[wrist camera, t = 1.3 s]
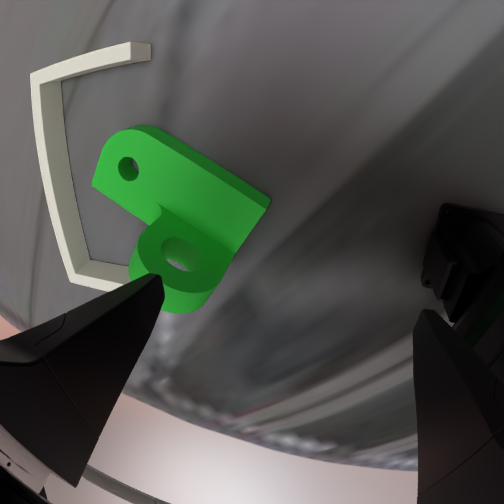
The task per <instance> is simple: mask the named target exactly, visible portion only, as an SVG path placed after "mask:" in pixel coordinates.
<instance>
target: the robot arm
mask: <svg viewBox="0 0 504 504" xmlns="http://www.w3.org/2000/svg"><path fill="white" fill-rule="evenodd" d="M447 209H450V212H449V213H447V214H446V210H447ZM423 266H424V270H423V273H422V276H421V283H422V285H423V286H424V287H426V288H433V291H434V294H435V296H436V298H437V300H440V301H442V302H443V304H444V307H445V310H446V313H447V315H448V318H449V321H450V322H452V323H455V324H454V325H453V326H452V327H451V326H450V325H449V324H448V323H447V322H446V321H445V320H444V319H443V318H442V317H441V316H440V315H439V314H438V313H437V312H436V311H435V310H430V309H423V310H422V311H421V313H420V315H419V317H418V320H417V322H416V325H415V327H414V330H413V377H414V388H415V400H416V414H417V433H418V497H417V504H504V215H502V214H498V213H493V212H489V211H484V210H480V209H475V208H470V207H466V206H461V205H456V204H450V203H446V204H444V205H443V206H442V207H441V210H440V214H439V218H438V222H437V226H436V229H435V231H434V232H433V233H432V234H431V237H430V241H429V245H428V248H427V252H426V255H425V258H424V262H423ZM427 279H429V281H427V282H425V281H426V280H427ZM164 300H165V292H164V286H163V281H162V277H161V275H159V274H154V273H148V274H146V275H144V276H141V277H139V278H137V279H135V280H133V281H131V282H129V283H127V284H124V285H122V286H120V287H118V288H116V289H114V290H112V291H110V292H108V293H105V294H103V295H101V296H99V297H97V298H95V299H93V300H91V301H89V302H87V303H85V304H83V305H81V306H78V307H76V308H74V309H72V310H70V311H68V312H67V313H64V314H62V315H60V316H58V317H56V318H54V319H52V320H49V321H47V322H45V323H43V324H40V325H38V326H36V327H33V328H31V329H29V330H26V331H24V332H21V333H19V334H16V335H14V336H11V337H9V338H7V339H4V340H0V504H52V503H51V502H49V501H48V500H47V496H46V493H45V489H44V484H45V482H46V481H47V479H48V477H49V475H50V474H51V473H52V474H54V475H55V476H57V477H58V478H60V479H61V480H63V481H65V482H66V483H68V484H70V485H71V486H73V487H75V488H76V487H77V485H78V483H79V480H80V478H81V476H82V474H83V472H84V469H85V467H86V465H87V463H88V460H89V458H90V456H91V454H92V452H93V450H94V448H95V445H96V443H97V441H98V439H99V436H100V435H101V432H102V430H103V428H104V426H105V424H106V422H107V420H108V418H109V416H110V414H111V411H112V410H113V407H114V406H115V404H116V402H117V399H118V397H119V396H120V394H121V392H122V390H123V388H124V386H125V384H126V382H127V380H128V378H129V376H130V374H131V372H132V370H133V368H134V366H135V364H136V362H137V360H138V358H139V356H140V354H141V353H142V351H143V349H144V347H145V345H146V343H147V341H148V339H149V337H150V335H151V333H152V330H153V328H154V325H155V323H156V320H157V318H158V315H159V313H160V310H161V308H162V305H163V303H164Z"/></svg>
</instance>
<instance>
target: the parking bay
mask: <svg viewBox="0 0 504 504" xmlns="http://www.w3.org/2000/svg"><path fill="white" fill-rule="evenodd" d="M148 60H151V44H146V43H138V42H127V43H123V44H119V45H115V46H111V47H107V48H104V49H100V50H96V51H93V52H90V53H86V54H83V55H80V56H77V57H74V58H71V59H68V60H65V61H62V62H59V63H56V64H54V65H51V66H48V67H46V68H43V69H41V70H38V71H36V72H33V73H31V74H30V81H31V98H32V110H33V120H34V129H35V137H36V144H37V151H38V157H39V163H40V169H41V174H42V180H43V185H44V189H45V194H46V199H47V203H48V207H49V212H50V216H51V220H52V223H53V227H54V231H55V235H56V238H57V242H58V245H59V249H60V252H61V255H62V259H63V262H64V265H65V268H66V271H67V274H68V277H69V280H70V282H72V283H76V284H80V285H84V286H88V287H92V288H96V289H100V290H104V291H108V292H110V291H112V290H114V289H116V288H118V287H120V286H122V285H124V284H127V283H129V282H131V280H130V277H129V271H128V268H129V267H128V266H122V265H117V264H111V263H106V262H100V261H95V260H90V257H89V253H88V249H87V245H86V241H85V237H84V233H83V229H82V225H81V221H80V216H79V212H78V207H77V202H76V197H75V192H74V187H73V181H72V176H71V170H70V163H69V157H68V150H67V142H66V134H65V125H64V116H63V104H62V89H61V81H62V80H66V79H69V78H72V77H76V76H80V75H83V74H87V73H91V72H95V71H99V70H103V69H107V68H112V67H117V66H121V65H126V64H131V63H137V62H142V61H148Z"/></svg>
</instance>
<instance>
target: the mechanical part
mask: <svg viewBox="0 0 504 504" xmlns="http://www.w3.org/2000/svg"><path fill="white" fill-rule="evenodd" d="M132 158H133V159H134V160H135V161H136V162H137V164H138V167H139V173H138V172H137V171H136V170H135V169H134V168H133V166H132ZM92 186H93V187H95V188H96V189H97V190H99V191H100V192H102V193H103V194H105V195H106V196H107V197H109V198H110V199H112V200H113V201H115V202H116V203H118V204H119V205H120V206H122V207H123V208H125V209H126V210H128V211H129V212H131V213H132V214H134V215H135V216H136V217H138V218H139V219H141V220H142V221H144V222H145V223H146V224H148V227H147V228H146V229H145V230H144V231H143V232H142V233H141V235H140V237H139V239H138V242H137V244H136V247H135V249H134V252H133V254H132V257H131V259H130V262H129V268H128V271H129V277H130V280H131V281H133V280H135V279H137V278H139V277H141V276H144V275H146V274H148V273H154V274H159V275H161V277H162V281H163V286H164V292H165V300H164V303H163V305H162V308H161V310H163V311H167V312H171V313H189V312H193V311H195V310H197V309H199V308H200V307H201V306H203V305H204V303H205V302H206V301H207V299H208V298H209V296H210V295H211V294H212V292H213V291H214V289H215V288H216V287H217V285H218V284H219V282H220V281H221V279H222V277H223V275H224V273H225V271H226V270H227V268H228V266H229V264H230V262H231V260H232V258H233V257H234V255H235V253H236V252H237V250H238V249H239V247H240V246H241V245H242V243H243V242H244V240H245V239H246V238H247V236H248V235H249V233H250V232H251V230H252V229H253V228H254V226H255V225H256V223H257V222H258V221H259V219H260V218H261V216H262V215H263V214H264V212H265V211H266V209H267V207H268V205H269V203H270V201H271V199H270V198H269V197H267V196H266V195H264V194H263V193H261V192H260V191H258V190H257V189H255V188H253V187H252V186H250V185H249V184H247V183H246V182H244V181H243V180H241V179H240V178H238V177H237V176H235V175H234V174H232V173H230V172H229V171H227V170H226V169H224V168H223V167H221V166H219V165H218V164H216V163H215V162H213V161H212V160H210V159H208V158H207V157H205V156H204V155H202V154H200V153H199V152H197V151H195V150H194V149H192V148H191V147H189V146H187V145H186V144H184V143H182V142H181V141H179V140H177V139H176V138H174V137H172V136H171V135H169V134H167V133H166V132H164V131H162V130H161V129H159V128H157V127H154V126H150V125H139V126H135V127H132V128H129V129H126V130H123V131H120V132H118V133H116V134H114V135H113V136H112V137H111V138H110V139H109V140H108V141H107V142H106V144H105V145H104V147H103V150H102V152H101V155H100V158H99V162H98V165H97V168H96V171H95V175H94V178H93V181H92ZM166 259H171V260H174V261H176V262H178V263H180V264H181V265H183V266H184V267H185V268H186V269H187V271H188V272H187V271H182V270H180V269H177V268H175V267H174V266H172V265H171V264H170V263H169V262H168V261H167V260H166Z"/></svg>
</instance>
